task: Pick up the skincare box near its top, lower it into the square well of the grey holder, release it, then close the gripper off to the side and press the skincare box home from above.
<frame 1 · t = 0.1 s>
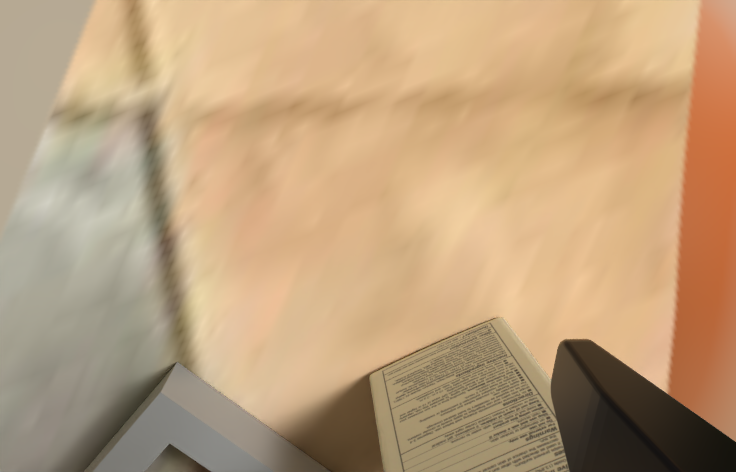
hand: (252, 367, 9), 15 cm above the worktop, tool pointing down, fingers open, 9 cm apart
skincare box: (455, 381, 27), on the worktop
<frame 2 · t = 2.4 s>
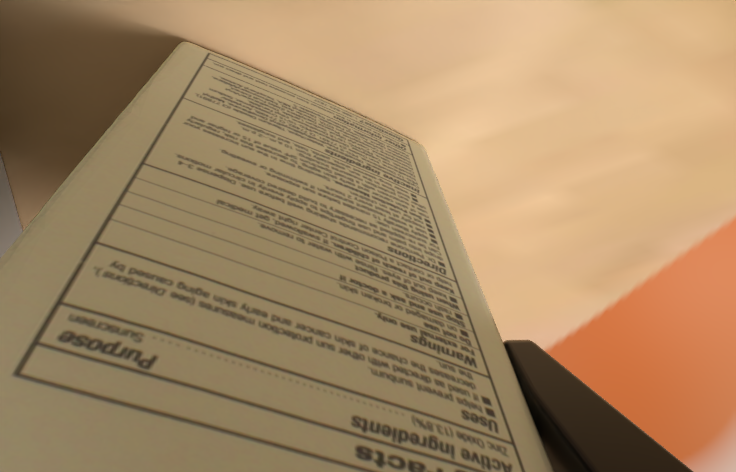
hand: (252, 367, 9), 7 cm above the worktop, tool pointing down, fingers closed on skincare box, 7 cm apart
skincare box: (284, 170, 15), on the worktop, touching gripper
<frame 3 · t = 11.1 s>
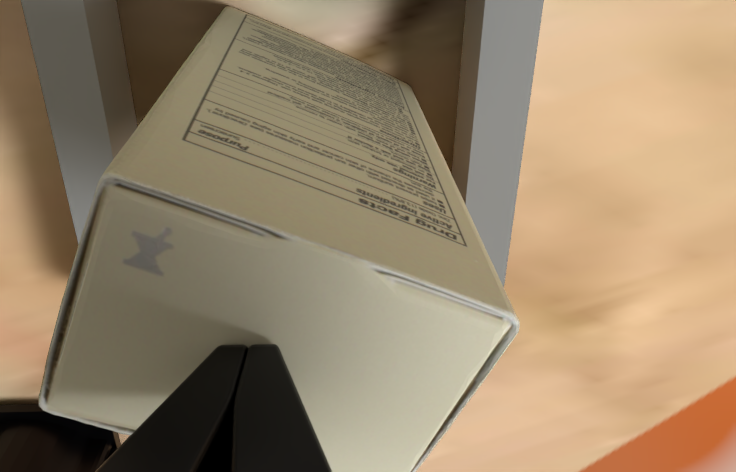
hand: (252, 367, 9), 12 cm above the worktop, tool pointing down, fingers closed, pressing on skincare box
holder: (297, 108, 20), on the worktop
skincare box: (302, 108, 20), resting in holder, touching gripper
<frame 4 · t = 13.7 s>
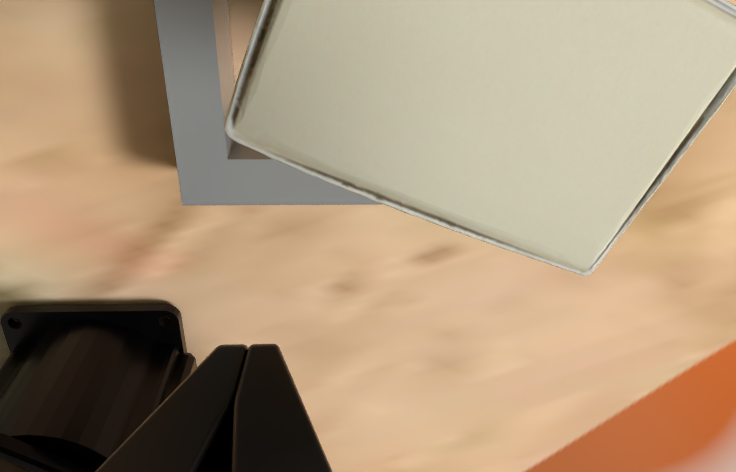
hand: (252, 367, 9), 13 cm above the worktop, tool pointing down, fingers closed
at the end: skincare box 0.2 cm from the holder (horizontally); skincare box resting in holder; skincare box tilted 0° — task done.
